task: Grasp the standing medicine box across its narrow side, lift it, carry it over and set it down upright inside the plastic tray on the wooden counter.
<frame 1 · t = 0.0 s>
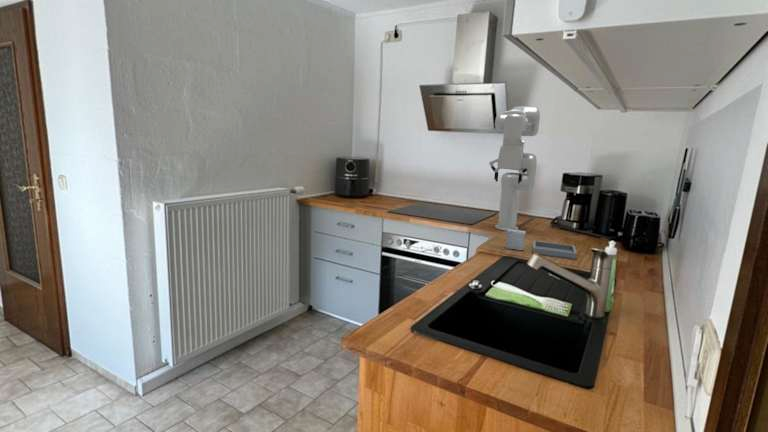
hand: (507, 182, 183), 31 cm above the worktop, tool pointing down, fingers open, 9 cm apart
tray: (553, 252, 187), on the worktop
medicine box: (514, 249, 191), on the worktop
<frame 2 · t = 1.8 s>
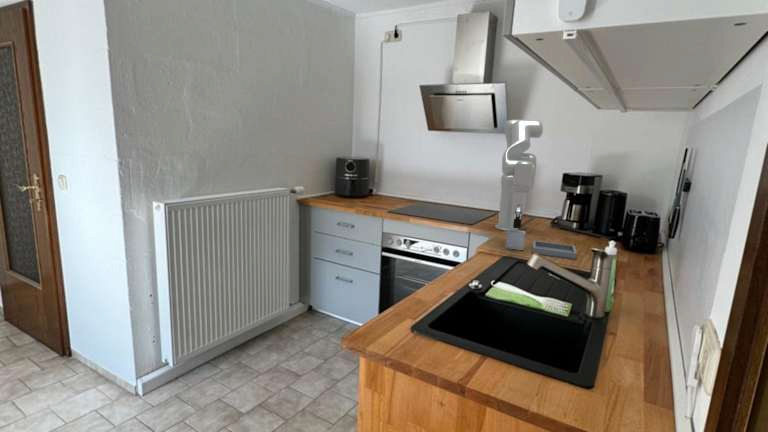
hand: (517, 226, 188), 11 cm above the worktop, tool pointing down, fingers open, 9 cm apart
nothing on the worktop moved.
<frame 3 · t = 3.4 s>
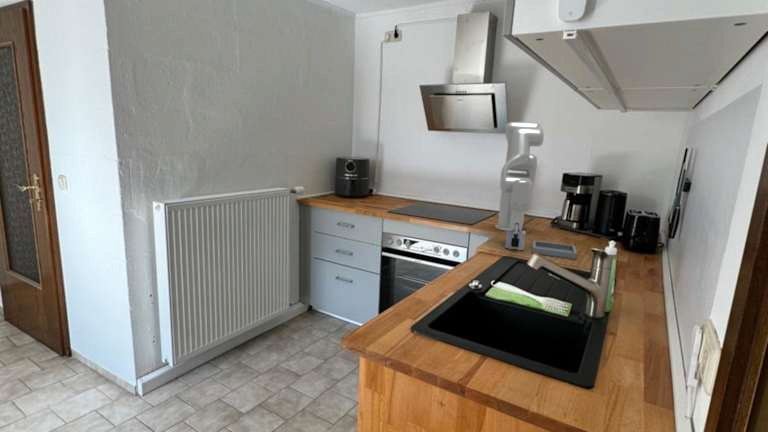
hand: (514, 244, 191), 2 cm above the worktop, tool pointing down, fingers closed on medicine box, 4 cm apart
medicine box: (514, 249, 191), on the worktop, touching gripper
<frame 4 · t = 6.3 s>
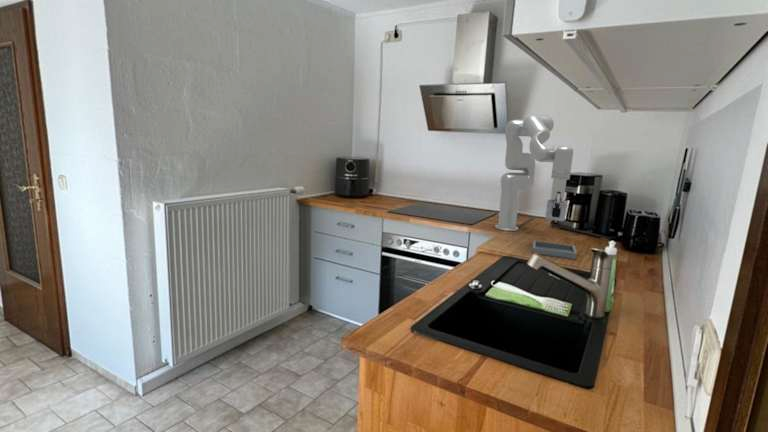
hand: (555, 215, 184), 17 cm above the worktop, tool pointing down, fingers closed on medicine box, 4 cm apart
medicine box: (554, 220, 184), point 15 cm above the worktop, touching gripper
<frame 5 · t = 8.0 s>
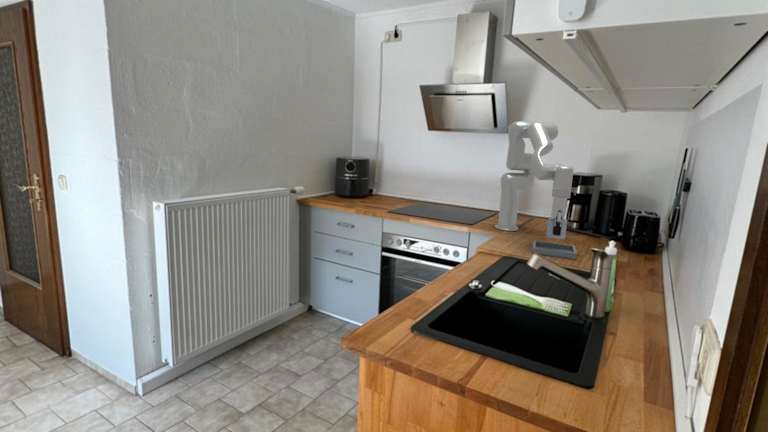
hand: (556, 233, 185), 9 cm above the worktop, tool pointing down, fingers closed on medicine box, 4 cm apart
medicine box: (555, 237, 186), point 7 cm above the worktop, touching gripper
when the fingers open (4 cm above the worktop, at t = 9.4 s): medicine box drops 1 cm, resting on tray.
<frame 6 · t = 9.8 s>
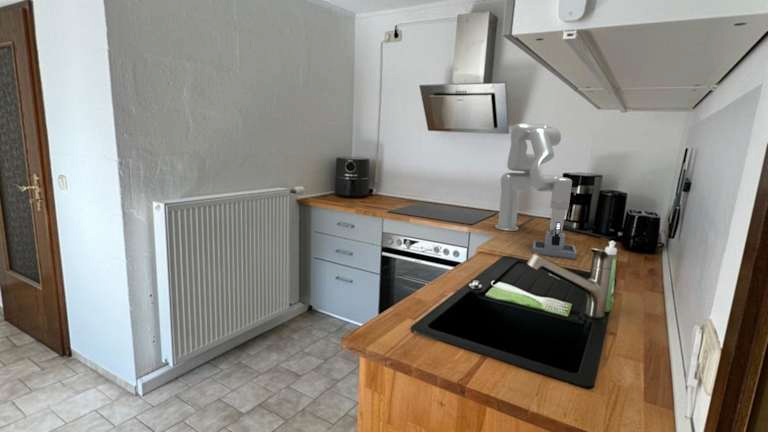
hand: (554, 242, 186), 5 cm above the worktop, tool pointing down, fingers open, 9 cm apart
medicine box: (553, 251, 187), resting on tray
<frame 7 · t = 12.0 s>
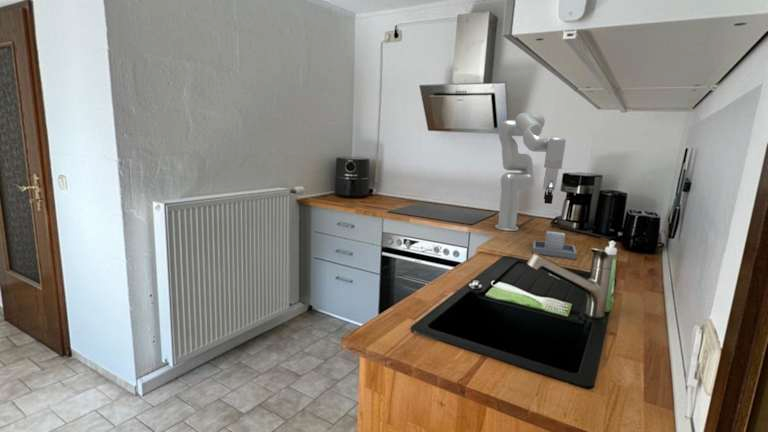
hand: (547, 201, 191), 22 cm above the worktop, tool pointing down, fingers open, 9 cm apart
nothing on the worktop moved.
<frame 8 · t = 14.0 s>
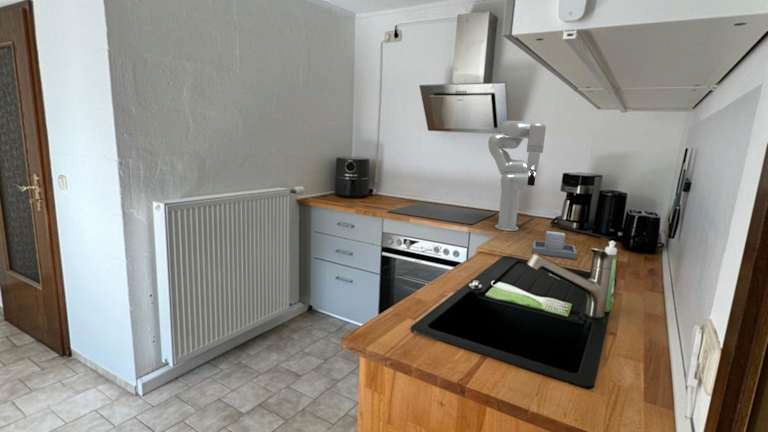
hand: (530, 184, 203), 28 cm above the worktop, tool pointing down, fingers open, 9 cm apart
nothing on the worktop moved.
at the end: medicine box inside the target area on the tray (0.1 cm from its centre), point 0.4 cm above the tray's base; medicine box tilted 0°; the gripper is holding nothing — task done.
